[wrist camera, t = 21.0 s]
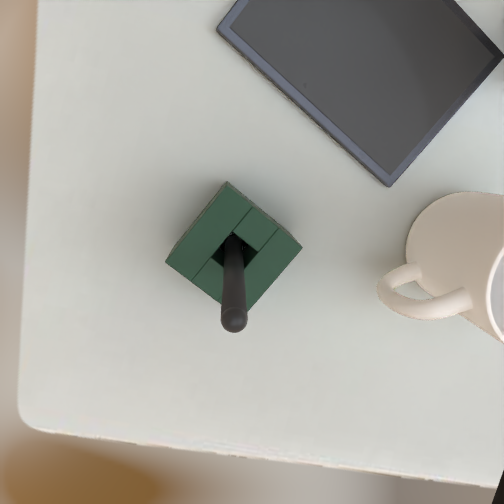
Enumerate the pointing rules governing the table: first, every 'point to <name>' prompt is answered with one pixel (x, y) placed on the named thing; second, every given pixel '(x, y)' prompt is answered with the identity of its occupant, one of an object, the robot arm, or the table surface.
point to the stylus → (233, 287)
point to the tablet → (367, 68)
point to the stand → (244, 226)
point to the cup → (454, 262)
